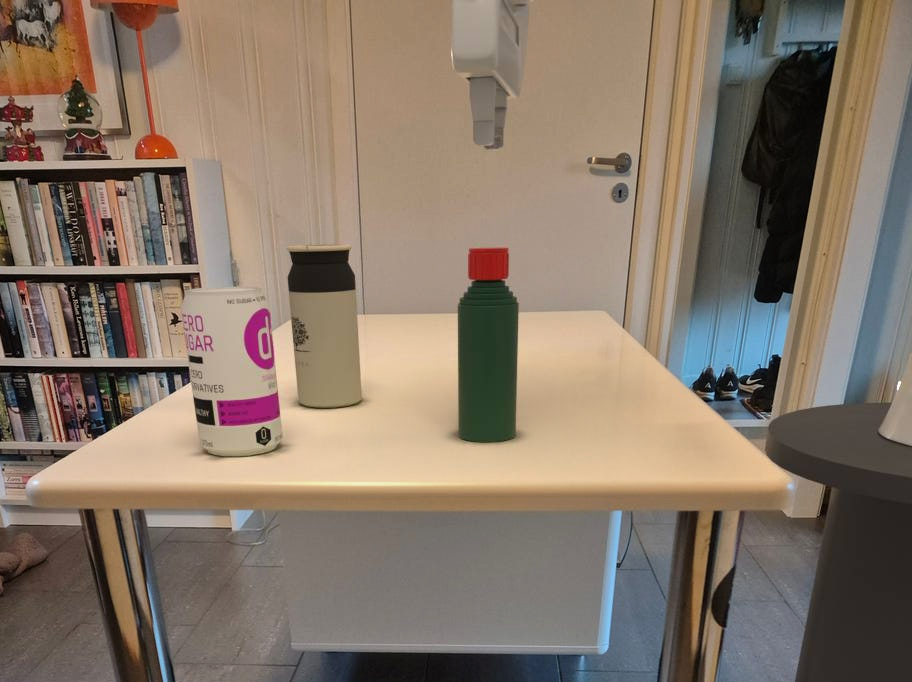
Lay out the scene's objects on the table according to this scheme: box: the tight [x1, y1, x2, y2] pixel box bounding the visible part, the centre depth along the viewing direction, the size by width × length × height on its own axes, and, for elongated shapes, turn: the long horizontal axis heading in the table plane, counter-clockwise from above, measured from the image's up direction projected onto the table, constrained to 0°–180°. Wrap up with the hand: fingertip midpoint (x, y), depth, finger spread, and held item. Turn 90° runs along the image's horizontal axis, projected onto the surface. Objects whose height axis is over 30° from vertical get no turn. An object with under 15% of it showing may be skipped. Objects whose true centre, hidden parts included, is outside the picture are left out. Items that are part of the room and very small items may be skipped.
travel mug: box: [286, 243, 363, 409], centre depth 104 cm, size 8×8×18 cm
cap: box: [467, 247, 510, 281], centre depth 82 cm, size 4×4×3 cm
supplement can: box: [180, 285, 283, 457], centre depth 83 cm, size 8×8×15 cm
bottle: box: [457, 279, 520, 443], centre depth 86 cm, size 6×6×18 cm
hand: (488, 147), depth 78 cm, fingers open, 5 cm apart
